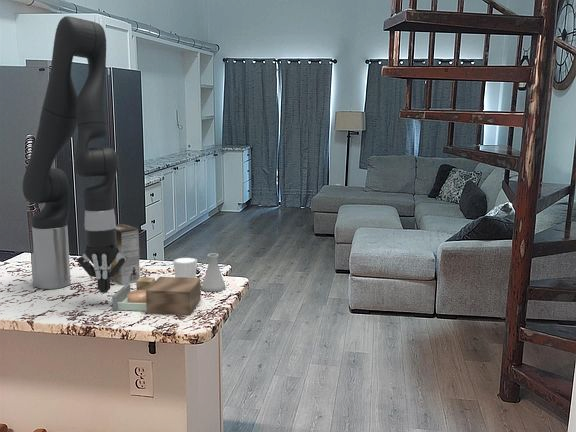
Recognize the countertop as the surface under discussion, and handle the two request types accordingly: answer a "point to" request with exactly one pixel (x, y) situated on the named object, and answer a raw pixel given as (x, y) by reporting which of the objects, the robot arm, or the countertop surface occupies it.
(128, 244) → the coffee box
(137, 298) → the coaster
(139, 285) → the olive brown cube
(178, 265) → the white cup
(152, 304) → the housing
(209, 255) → the flask
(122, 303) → the tray
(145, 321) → the countertop surface
